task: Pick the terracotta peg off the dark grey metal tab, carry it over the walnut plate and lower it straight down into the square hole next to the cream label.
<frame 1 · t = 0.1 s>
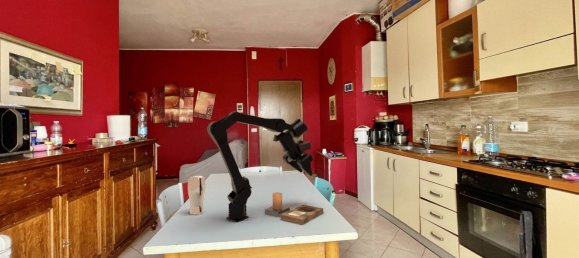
hand: (306, 173, 122), 15 cm above the table, tool tilted 30°, fingers open, 9 cm apart
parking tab: (277, 212, 115), on the table
hole plate: (302, 216, 110), on the table
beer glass: (197, 212, 117), on the table
peg: (277, 208, 115), point 2 cm above the table, touching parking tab
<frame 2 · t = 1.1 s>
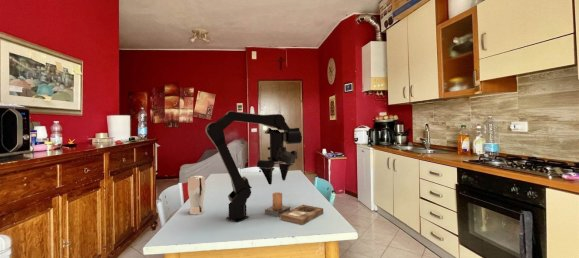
hand: (277, 182, 115), 13 cm above the table, tool pointing down, fingers open, 9 cm apart
nothing on the table moved.
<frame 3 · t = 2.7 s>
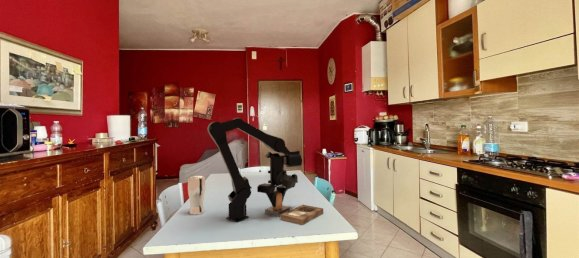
hand: (277, 205, 115), 3 cm above the table, tool pointing down, fingers closed on peg, 4 cm apart
peg: (277, 208, 115), point 2 cm above the table, touching gripper, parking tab
everything else where it was.
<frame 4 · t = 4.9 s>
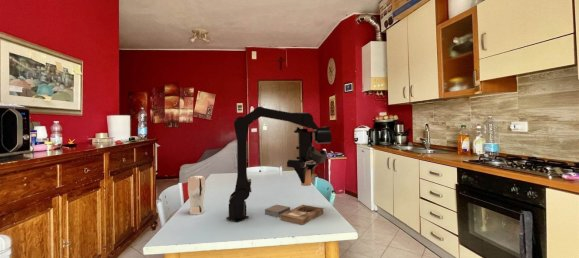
hand: (306, 182, 113), 13 cm above the table, tool pointing down, fingers closed on peg, 4 cm apart
peg: (306, 184, 113), point 12 cm above the table, touching gripper
everything else where it was.
when the fingers open (3 cm above the table, at t = 7.0 s): peg drops 2 cm, resting in hole plate.
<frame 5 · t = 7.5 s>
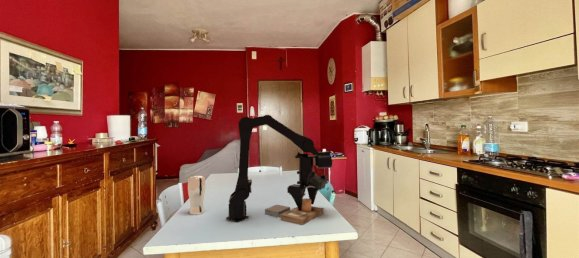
hand: (306, 207, 113), 3 cm above the table, tool pointing down, fingers open, 9 cm apart
peg: (306, 214, 113), resting in hole plate
everything else where it was.
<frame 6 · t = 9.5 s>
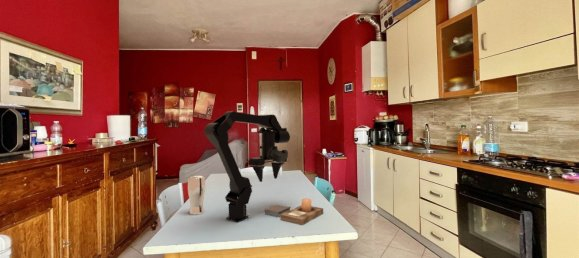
hand: (268, 180, 119), 13 cm above the table, tool pointing down, fingers open, 9 cm apart
nothing on the table moved.
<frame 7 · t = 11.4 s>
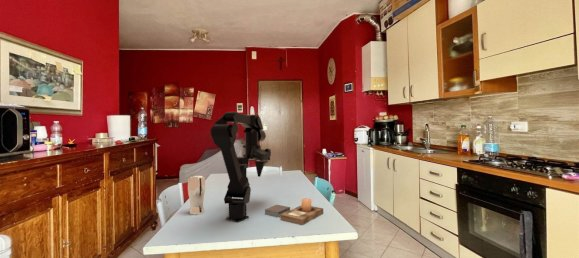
hand: (252, 178, 123), 13 cm above the table, tool pointing down, fingers open, 9 cm apart
nothing on the table moved.
at the end: peg 0.0 cm from the target spot on the hole plate, point 0.0 cm above the hole plate's base; peg tilted 1°; the gripper is holding nothing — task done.
